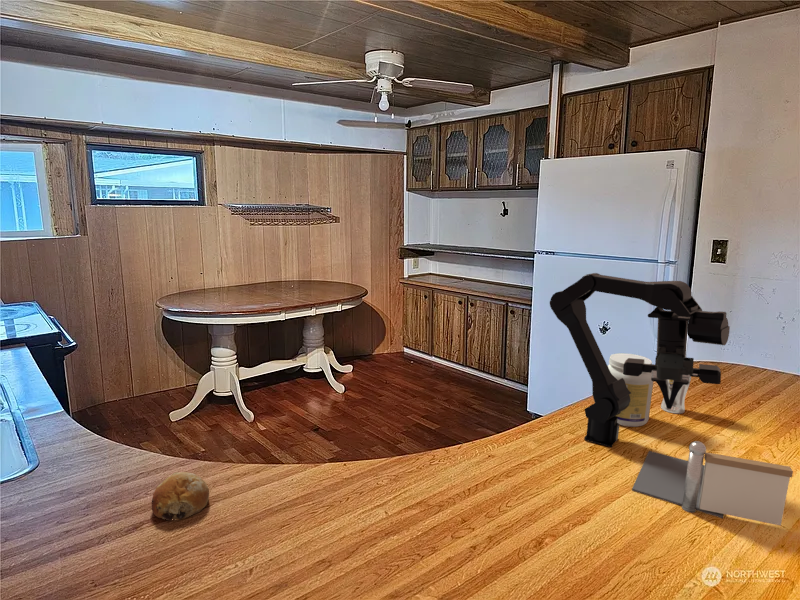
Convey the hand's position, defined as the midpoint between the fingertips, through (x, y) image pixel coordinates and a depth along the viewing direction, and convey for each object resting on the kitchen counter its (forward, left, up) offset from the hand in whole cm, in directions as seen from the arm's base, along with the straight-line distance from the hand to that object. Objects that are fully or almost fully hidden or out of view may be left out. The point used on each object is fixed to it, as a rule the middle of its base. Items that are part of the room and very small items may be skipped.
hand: (669, 408), depth 116 cm
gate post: (+7, -17, -13) cm, 23 cm away
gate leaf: (+15, -15, -12) cm, 25 cm away
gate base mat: (+5, -7, -13) cm, 15 cm away
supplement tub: (-12, +20, -13) cm, 27 cm away
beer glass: (-2, +35, -13) cm, 38 cm away
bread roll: (-72, -73, -13) cm, 104 cm away
